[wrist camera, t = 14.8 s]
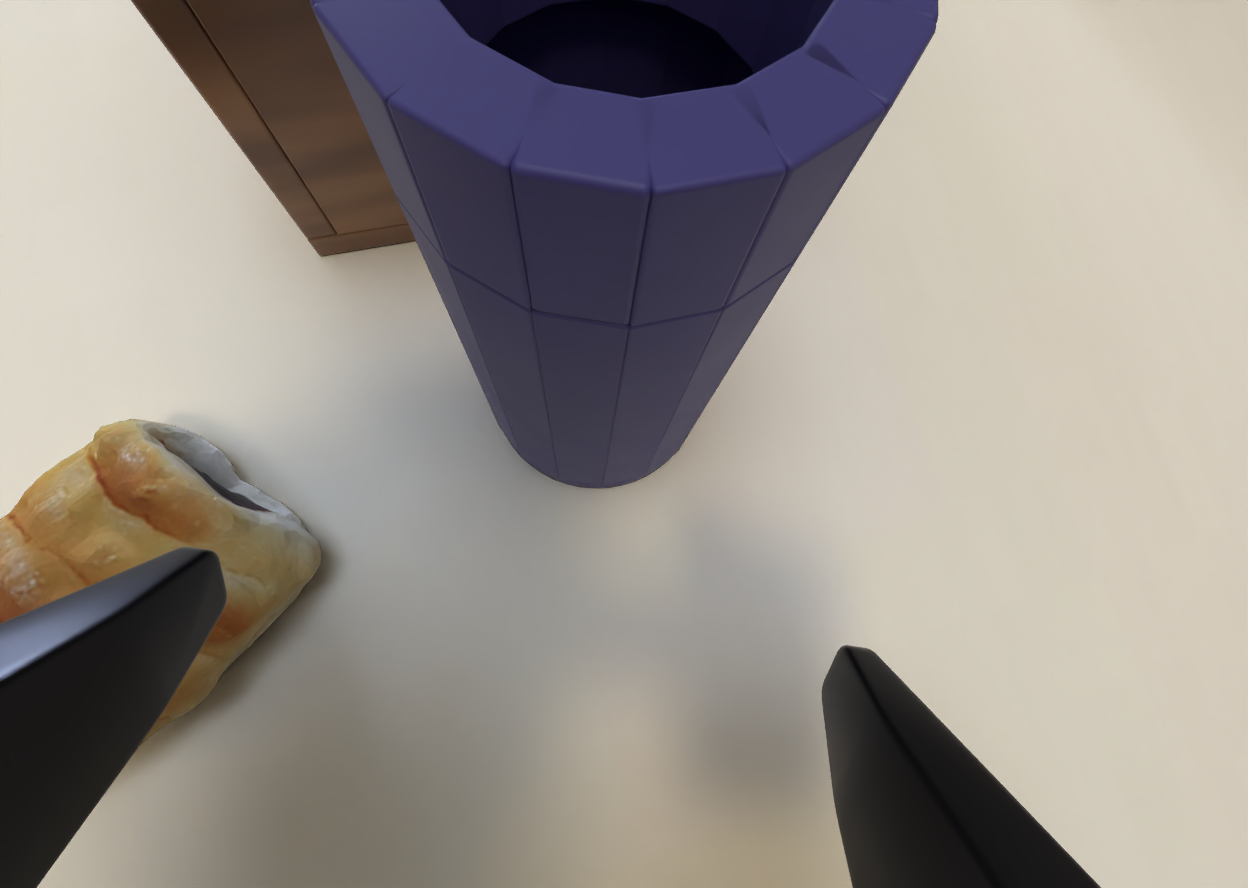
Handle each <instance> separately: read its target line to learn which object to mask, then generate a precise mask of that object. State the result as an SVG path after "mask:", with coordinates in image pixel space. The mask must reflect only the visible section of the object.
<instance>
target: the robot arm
mask: <svg viewBox="0 0 1248 888" xmlns="http://www.w3.org/2000/svg"><path fill="white" fill-rule="evenodd" d="M226 600H227V591H226V586H225V582H224V577H223V573H222V569H221V564H220V560H219V557H218V555H217V554H216V553H215V552H214V551H212V550H208V549H201V548H194V547H180V548H178V549H175V550H173V551H170V552H168V553H165V554H163V555H161V556H158V557H156V558H154V559H151V560H149V561H147V562H144V563H142V564H140V565H137V566H135V567H132V568H130V569H128V570H125V571H123V572H121V573H118V574H116V575H114V576H111V577H109V578H106V579H104V580H102V581H99V582H97V583H95V584H92V585H90V586H88V587H85V588H83V589H80V590H78V591H76V592H73V593H71V594H69V595H66V596H64V597H62V598H59V599H57V600H55V601H52V602H50V603H47V604H45V605H43V606H40V607H38V608H36V609H33V610H31V611H29V612H26V613H24V614H21V615H19V616H17V617H14V618H12V619H10V620H7V621H5V622H3V623H0V888H37V886H38V885H39V884H40V882H41V881H42V879H43V878H44V877H45V875H46V874H47V872H48V871H49V870H50V868H51V867H52V866H53V864H54V863H55V861H56V860H57V859H58V857H59V856H60V854H61V853H62V852H63V850H64V849H65V848H66V846H67V845H68V843H69V842H70V841H71V839H72V838H73V836H74V835H75V834H76V832H77V831H78V830H79V828H80V827H81V825H82V824H83V823H84V821H85V820H86V819H87V817H88V816H89V814H90V813H91V812H92V810H93V809H94V807H95V806H96V805H97V803H98V802H99V801H100V799H101V798H102V796H103V795H104V794H105V792H106V791H107V789H108V788H109V787H110V785H111V784H112V783H113V781H114V780H115V778H116V777H117V776H118V774H119V773H120V771H121V770H122V769H123V767H124V766H125V765H126V763H127V762H128V760H129V759H130V758H131V756H132V755H133V753H134V752H135V751H136V749H137V748H138V747H139V745H140V744H141V742H142V741H143V740H144V738H145V737H146V735H147V734H148V733H149V731H150V730H151V729H152V727H153V726H154V724H155V723H156V721H157V720H158V718H159V717H160V716H161V714H162V713H163V711H164V710H165V708H166V706H167V705H168V703H169V702H170V700H171V698H172V697H173V695H174V694H175V692H176V690H177V689H178V687H179V685H180V683H181V682H182V680H183V678H184V677H185V675H186V673H187V671H188V670H189V668H190V666H191V665H192V663H193V661H194V660H195V658H196V656H197V654H198V653H199V651H200V649H201V648H202V646H203V644H204V642H205V641H206V639H207V637H208V636H209V634H210V632H211V630H212V629H213V627H214V625H215V624H216V622H217V620H218V619H219V617H220V615H221V613H222V612H223V609H224V607H225V604H226ZM822 704H823V713H824V721H825V730H826V738H827V746H828V755H829V763H830V772H831V780H832V788H833V795H834V802H835V808H836V813H837V818H838V823H839V828H840V832H841V837H842V841H843V846H844V850H845V855H846V859H847V864H848V868H849V873H850V877H851V882H852V886H853V888H1101V887H1100V886H1099V885H1098V884H1097V883H1096V882H1095V881H1094V880H1093V879H1092V878H1091V877H1090V876H1089V875H1088V874H1087V873H1086V871H1085V870H1084V869H1083V868H1082V867H1081V866H1080V865H1079V864H1078V863H1077V862H1076V861H1075V860H1074V859H1073V858H1072V857H1071V856H1070V855H1069V854H1068V853H1067V852H1066V851H1065V850H1064V849H1063V848H1062V847H1061V846H1060V844H1059V843H1058V842H1057V841H1056V840H1055V839H1054V838H1053V837H1052V836H1051V835H1050V834H1049V833H1048V832H1047V831H1046V830H1045V829H1044V828H1043V827H1042V826H1041V825H1040V824H1039V823H1038V822H1037V821H1036V820H1035V818H1034V817H1033V816H1032V815H1031V814H1030V813H1029V812H1028V811H1027V810H1026V809H1025V808H1024V807H1023V806H1022V805H1021V804H1020V803H1019V802H1018V801H1017V800H1016V799H1015V798H1014V797H1013V796H1012V795H1011V794H1010V793H1009V791H1008V790H1007V789H1006V788H1005V787H1004V786H1003V785H1002V784H1001V783H1000V782H999V781H998V780H997V779H996V778H995V777H994V776H993V775H992V774H991V773H990V772H989V771H988V770H987V769H986V768H985V767H984V766H983V764H982V763H981V762H980V761H979V760H978V759H977V758H976V757H975V756H974V755H973V754H972V753H971V752H970V751H969V750H968V749H967V748H966V747H965V746H964V745H963V744H962V743H961V742H960V741H959V740H958V738H957V737H956V736H955V735H954V734H953V733H952V732H951V731H950V730H949V729H948V728H947V727H946V726H945V725H944V724H943V723H942V722H941V721H940V720H939V719H938V718H937V717H936V716H935V715H934V714H933V713H932V711H931V710H930V709H929V708H928V707H927V706H926V705H925V704H924V703H923V702H922V701H921V700H920V699H919V698H918V697H917V696H916V695H915V694H914V693H913V692H912V691H911V690H910V689H909V688H908V687H907V685H906V684H905V683H904V682H903V681H902V680H901V679H900V678H899V677H898V676H897V675H896V674H895V673H894V672H893V671H892V670H891V669H890V668H889V667H888V666H887V665H886V664H885V663H884V662H883V661H882V660H881V658H880V657H879V656H878V655H877V654H876V653H874V652H873V651H872V650H870V649H867V648H861V647H855V646H848V645H846V646H842V647H841V648H840V649H839V650H838V652H837V654H836V656H835V658H834V661H833V663H832V665H831V667H830V669H829V671H828V673H827V676H826V678H825V680H824V683H823V687H822Z"/></svg>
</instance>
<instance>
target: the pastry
mask: <svg viewBox="0 0 1248 888" xmlns="http://www.w3.org/2000/svg"><path fill="white" fill-rule="evenodd" d="M180 547H194V548H201V549H208V550H212V551H214V552H215V553H216V554H217V555H218V557H219V560H220V564H221V569H222V573H223V577H224V582H225V586H226V591H227V600H226V604H225V607H224V609H223V612H222V613H221V615H220V617H219V619H218V620H217V622H216V624H215V625H214V627H213V629H212V630H211V632H210V634H209V636H208V637H207V639H206V641H205V642H204V644H203V646H202V648H201V649H200V651H199V653H198V654H197V656H196V658H195V660H194V661H193V663H192V665H191V666H190V668H189V670H188V671H187V673H186V675H185V677H184V678H183V680H182V682H181V683H180V685H179V687H178V689H177V690H176V692H175V694H174V695H173V697H172V698H171V700H170V702H169V703H168V705H167V706H166V708H165V710H164V711H163V713H162V714H161V716H160V717H159V718H158V720H157V721H156V723H155V724H154V726H153V727H152V729H151V730H150V731H149V733H148V734H147V735H146V737H145V738H144V740H143V741H142V742H141V744H142V743H143V742H144V741H146V740H147V739H148V738H149V737H150V736H151V735H153V734H154V733H155V732H156V731H158V730H159V729H161V728H162V727H164V726H165V725H166V724H168V723H170V722H172V721H174V720H175V719H177V718H179V717H181V716H183V715H185V714H186V713H187V712H189V711H190V710H192V709H193V708H194V707H196V706H197V705H198V704H199V703H200V702H202V701H203V700H204V699H205V697H206V696H207V695H208V694H209V693H210V692H211V691H212V690H213V688H214V687H215V686H216V684H217V682H218V680H219V678H220V676H221V674H222V673H224V672H225V671H226V670H227V669H228V668H229V667H230V666H231V664H232V663H233V662H234V661H235V660H236V659H237V658H238V656H240V655H241V654H242V653H243V652H245V651H246V650H247V649H249V648H250V647H251V646H252V645H253V643H254V641H255V640H256V639H257V638H258V637H259V636H260V635H262V634H263V633H264V631H265V630H266V629H267V628H268V627H269V626H270V625H271V624H272V623H273V622H274V621H275V620H276V619H277V618H278V617H279V616H280V615H281V614H282V613H283V612H284V611H285V610H286V609H287V608H288V607H289V606H290V605H291V604H292V603H293V602H294V600H295V599H296V598H297V597H298V595H299V594H300V592H301V591H302V589H303V587H304V585H305V584H306V583H308V582H309V581H310V580H311V579H312V577H313V576H314V574H315V572H316V570H317V569H318V567H319V565H320V563H321V550H320V546H319V543H318V541H317V540H316V539H315V538H314V537H313V536H312V535H310V534H309V533H308V532H307V531H306V529H305V527H304V525H303V524H302V522H301V521H300V520H299V519H298V518H297V516H296V515H295V514H294V513H293V512H292V511H290V510H289V509H288V508H286V507H285V506H284V505H283V504H282V503H281V502H279V501H277V500H275V499H273V498H271V497H269V496H267V495H266V494H265V493H264V492H262V491H261V490H259V489H257V488H255V487H254V486H252V485H250V484H248V483H246V482H244V481H242V480H240V479H239V477H238V476H237V474H236V472H235V471H234V470H233V465H232V464H231V463H230V461H229V460H228V458H227V457H226V456H225V455H224V454H223V453H222V452H221V450H220V449H218V448H216V447H215V446H213V445H211V444H210V443H208V442H207V441H206V440H205V439H204V438H203V437H202V436H200V435H198V434H196V433H193V432H191V431H189V430H186V429H184V428H181V427H177V426H172V425H167V424H162V423H156V422H150V421H144V420H136V419H129V420H126V421H119V422H116V423H113V424H110V425H106V426H102V427H101V428H100V429H99V430H98V431H97V432H96V433H95V436H94V439H93V441H92V442H90V443H89V444H88V445H87V446H85V447H84V448H82V449H81V450H79V451H78V452H76V453H75V454H73V455H71V456H70V457H68V458H66V459H64V460H62V461H61V462H59V463H58V464H57V465H56V466H54V467H53V468H52V469H50V470H49V471H47V472H45V473H44V474H43V475H42V476H40V477H39V478H38V479H37V481H35V482H34V484H33V485H32V486H31V487H30V488H29V489H28V490H26V491H25V493H24V494H23V496H22V497H21V499H20V500H19V502H18V504H17V505H16V506H15V507H14V508H13V510H12V511H11V512H10V513H9V514H7V515H6V516H4V517H3V518H1V519H0V623H3V622H5V621H7V620H10V619H12V618H14V617H17V616H19V615H21V614H24V613H26V612H29V611H31V610H33V609H36V608H38V607H40V606H43V605H45V604H47V603H50V602H52V601H55V600H57V599H59V598H62V597H64V596H66V595H69V594H71V593H73V592H76V591H78V590H80V589H83V588H85V587H88V586H90V585H92V584H95V583H97V582H99V581H102V580H104V579H106V578H109V577H111V576H114V575H116V574H118V573H121V572H123V571H125V570H128V569H130V568H132V567H135V566H137V565H140V564H142V563H144V562H147V561H149V560H151V559H154V558H156V557H158V556H161V555H163V554H165V553H168V552H170V551H173V550H175V549H178V548H180ZM141 744H140V745H141ZM140 745H139V746H140Z"/></svg>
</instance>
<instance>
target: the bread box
mask: <svg viewBox="0 0 1248 888" xmlns="http://www.w3.org/2000/svg"><path fill="white" fill-rule="evenodd" d="M131 1H132V2H133V4H134V5H135V6H136V8H137V9H138V10H139V12H140V13H141V15H142V16H143V17H144V19H145V20H146V21H147V23H148V24H149V25H150V27H151V28H152V29H153V31H154V32H155V33H156V35H157V36H158V38H159V39H160V40H161V42H162V43H163V44H164V46H165V47H166V48H167V50H168V51H169V52H170V54H171V55H172V56H173V58H174V59H175V60H176V62H177V63H178V65H179V66H180V67H181V69H182V70H183V71H184V73H185V74H186V75H187V77H188V78H189V79H190V81H191V82H192V83H193V85H194V86H195V88H196V89H197V90H198V92H199V93H200V94H201V96H202V97H203V98H204V100H205V101H206V102H207V104H208V105H209V106H210V108H211V109H212V110H213V112H214V113H215V115H216V116H217V117H218V119H219V120H220V121H221V123H222V124H223V125H224V127H225V128H226V129H227V131H228V132H229V133H230V135H231V136H232V138H233V139H234V140H235V142H236V143H237V144H238V146H239V147H240V148H241V150H242V151H243V152H244V154H245V155H246V156H247V158H248V159H249V161H250V162H251V163H252V165H253V166H254V167H255V169H256V170H257V171H258V173H259V174H260V175H261V177H262V178H263V179H264V181H265V182H266V183H267V185H268V186H269V188H270V189H271V190H272V192H273V193H274V194H275V196H276V197H277V198H278V200H279V201H280V202H281V204H282V205H283V206H284V208H285V209H286V211H287V212H288V213H289V215H290V216H291V217H292V219H293V220H294V221H295V223H296V224H297V225H298V227H299V228H300V229H301V231H302V232H303V233H304V235H305V236H306V237H307V238H308V241H309V242H310V243H311V245H312V246H313V247H314V249H315V250H316V251H317V253H318V254H319V255H320V256H324V255H330V254H336V253H342V252H348V251H354V250H360V249H366V248H372V247H378V246H384V245H390V244H397V243H403V242H409V241H415V237H414V235H413V233H412V231H411V228H410V226H409V224H408V222H407V220H406V217H405V215H404V213H403V211H402V208H401V206H400V204H399V202H398V199H397V197H396V195H395V192H394V190H393V188H392V186H391V183H390V181H389V179H388V177H387V175H386V172H385V170H384V168H383V166H382V163H381V161H380V159H379V157H378V154H377V152H376V150H375V148H374V146H373V143H372V141H371V139H370V137H369V134H368V132H367V130H366V128H365V125H364V123H363V121H362V119H361V116H360V114H359V112H358V110H357V108H356V105H355V103H354V101H353V99H352V96H351V94H350V92H349V90H348V87H347V85H346V83H345V81H344V79H343V76H342V74H341V72H340V70H339V67H338V65H337V63H336V61H335V58H334V56H333V54H332V52H331V50H330V47H329V45H328V43H327V41H326V38H325V36H324V34H323V32H322V29H321V27H320V25H319V23H318V20H317V18H316V16H315V14H314V11H313V9H312V6H311V4H310V0H131Z"/></svg>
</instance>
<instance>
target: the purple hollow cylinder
mask: <svg viewBox="0 0 1248 888" xmlns="http://www.w3.org/2000/svg"><path fill="white" fill-rule="evenodd" d="M310 4H311V6H312V9H313V11H314V14H315V16H316V18H317V20H318V23H319V25H320V27H321V29H322V32H323V34H324V36H325V38H326V41H327V43H328V45H329V47H330V50H331V52H332V54H333V56H334V58H335V61H336V63H337V65H338V67H339V70H340V72H341V74H342V76H343V79H344V81H345V83H346V85H347V87H348V90H349V92H350V94H351V96H352V99H353V101H354V103H355V105H356V108H357V110H358V112H359V114H360V116H361V119H362V121H363V123H364V125H365V128H366V130H367V132H368V134H369V137H370V139H371V141H372V143H373V146H374V148H375V150H376V152H377V154H378V157H379V159H380V161H381V163H382V166H383V168H384V170H385V172H386V175H387V177H388V179H389V181H390V183H391V186H392V188H393V190H394V192H395V195H396V197H397V199H398V202H399V204H400V206H401V208H402V211H403V213H404V215H405V217H406V220H407V222H408V224H409V226H410V228H411V231H412V233H413V235H414V237H415V240H416V242H417V244H418V246H419V249H420V251H421V253H422V255H423V257H424V260H425V262H426V264H427V266H428V269H429V271H430V273H431V275H432V278H433V280H434V282H435V284H436V286H437V289H438V291H439V293H440V295H441V298H442V300H443V302H444V304H445V307H446V309H447V311H448V313H449V315H450V318H451V320H452V322H453V324H454V327H455V329H456V331H457V333H458V336H459V338H460V340H461V342H462V344H463V347H464V349H465V351H466V353H467V356H468V358H469V360H470V362H471V365H472V367H473V369H474V371H475V373H476V376H477V378H478V380H479V382H480V385H481V387H482V389H483V391H484V394H485V396H486V398H487V400H488V402H489V405H490V407H491V409H492V411H493V414H494V416H495V418H496V420H497V423H498V425H499V426H500V428H501V429H502V430H503V432H504V433H505V435H506V437H507V438H508V440H509V442H510V443H511V445H512V446H513V447H514V449H515V450H516V451H517V452H518V454H519V455H520V456H521V457H522V458H523V459H524V460H525V461H527V462H528V463H529V464H530V465H531V466H533V467H534V468H535V469H537V470H538V471H540V472H541V473H543V474H545V475H547V476H549V477H551V478H553V479H555V480H557V481H560V482H563V483H566V484H570V485H574V486H579V487H587V488H609V487H615V486H621V485H624V484H628V483H631V482H634V481H637V480H639V479H641V478H643V477H645V476H647V475H649V474H651V473H652V472H654V471H655V470H657V469H658V468H660V467H661V466H662V465H663V464H664V463H666V462H667V461H668V460H669V459H670V458H671V457H672V456H673V455H674V454H675V453H677V451H678V450H679V449H680V447H681V446H682V444H683V442H684V441H685V439H686V438H687V436H688V434H689V433H690V431H691V429H692V428H693V426H694V425H695V423H696V421H697V420H698V418H699V417H700V415H701V413H702V412H703V410H704V408H705V407H706V405H707V404H708V402H709V400H710V399H711V397H712V396H713V394H714V392H715V391H716V389H717V388H718V386H719V384H720V383H721V381H722V379H723V378H724V376H725V375H726V373H727V371H728V370H729V368H730V367H731V365H732V363H733V362H734V360H735V358H736V357H737V355H738V354H739V352H740V350H741V349H742V347H743V346H744V344H745V342H746V341H747V339H748V337H749V336H750V334H751V333H752V331H753V329H754V328H755V326H756V325H757V323H758V321H759V320H760V318H761V317H762V315H763V313H764V312H765V310H766V308H767V307H768V305H769V304H770V302H771V300H772V299H773V297H774V296H775V294H776V292H777V291H778V289H779V287H780V286H781V284H782V283H783V281H784V279H785V278H786V276H787V275H788V273H789V271H790V270H791V268H792V267H793V265H794V263H795V262H796V260H797V258H798V257H799V255H800V254H801V252H802V250H803V249H804V247H805V245H806V244H807V242H808V241H809V239H810V237H811V236H812V234H813V233H814V231H815V229H816V228H817V226H818V225H819V223H820V221H821V220H822V218H823V216H824V215H825V213H826V212H827V210H828V208H829V207H830V205H831V204H832V202H833V200H834V199H835V197H836V195H837V194H838V192H839V191H840V189H841V187H842V186H843V184H844V183H845V181H846V179H847V178H848V176H849V174H850V173H851V171H852V170H853V168H854V166H855V165H856V163H857V162H858V160H859V158H860V157H861V155H862V154H863V152H864V150H865V149H866V147H867V145H868V144H869V142H870V141H871V139H872V137H873V136H874V134H875V133H876V131H877V129H878V128H879V126H880V124H881V123H882V121H883V120H884V118H885V116H886V115H887V113H888V112H889V110H890V108H891V107H892V105H893V103H894V102H895V100H896V98H897V96H898V95H899V93H900V91H901V90H902V88H903V86H904V84H905V83H906V81H907V79H908V78H909V76H910V74H911V72H912V71H913V69H914V67H915V66H916V64H917V62H918V60H919V59H920V57H921V55H922V54H923V52H924V50H925V48H926V47H927V45H928V43H929V42H930V40H931V38H932V36H933V35H934V33H935V29H936V23H937V19H938V0H310Z"/></svg>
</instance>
